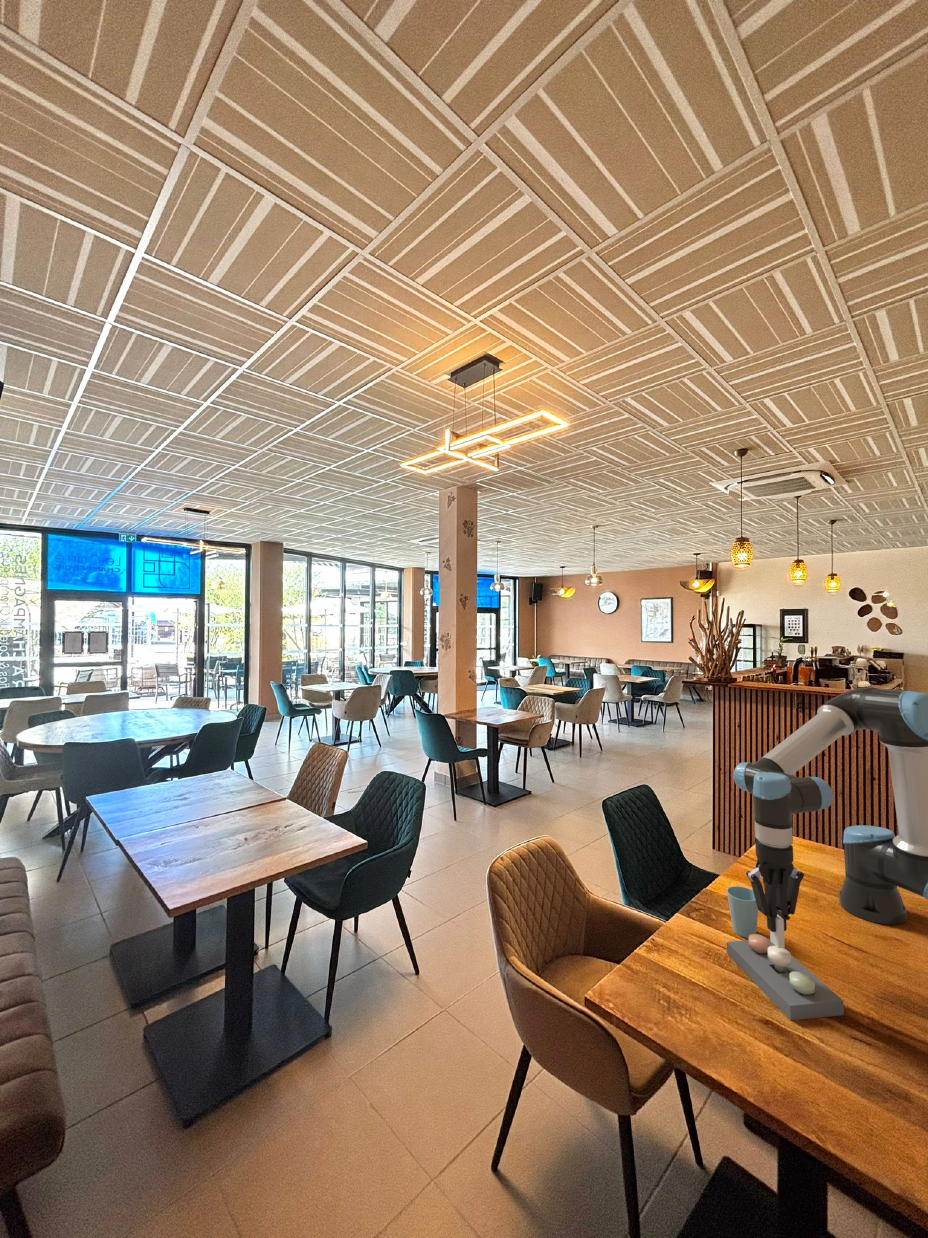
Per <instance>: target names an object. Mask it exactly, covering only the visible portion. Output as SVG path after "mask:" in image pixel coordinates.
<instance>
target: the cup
mask: <svg viewBox="0 0 928 1238" xmlns="http://www.w3.org/2000/svg"><path fill="white" fill-rule="evenodd" d="M726 893H727V894H726V895H727V900H728V906H729V914H730V918H731V925H732V931H733V932H734V933H735V934H736V936H739V937H741V938H746V939H749V935H751V934H757V932H758V931H757V930H758V917H759V910H758V907H757V904H756V900H755V896H754V892H753V889H751V888H748V887H745V886H740V885H739V886H738V885H735V886H733V885H732V886H730V887H728V888H726Z"/></svg>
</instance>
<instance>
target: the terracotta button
mask: <svg viewBox="0 0 928 1238" xmlns="http://www.w3.org/2000/svg"><path fill="white" fill-rule="evenodd" d="M767 938H768V937H766V936H764V935H762V934H759V933H758V934H757V933H756V934H751V935H749V938H748V940H749V947H750V948H751V949H753V950H754V951H755V952H756V953H757V954H764V953H768V947H770V941H769V939H767Z"/></svg>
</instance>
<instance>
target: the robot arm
mask: <svg viewBox="0 0 928 1238" xmlns="http://www.w3.org/2000/svg"><path fill="white" fill-rule="evenodd" d="M859 730H869V731H874V732H878V740H879V742H880V744H882V745H883V746H885V747H886V748H887V752H888V758H889V759H888V760H889V767H890V776H891V783H892V791H893V797H894V799H893V800H894V805H895V806H894V807H895V813H896V821H897V829H898V835H896V834H895V832H894V831H892V830H891V829H888V828H886V827H882V826H881V827H880V826H875V825H863V824H862V825H852V826H851V825H850V826H848V827H846V828H845V829H844V830H843V841H842V843H843V852H844V854H843V855H844V857H843V858H844V870H845V871H844V872H845V874H844V875H845V876H844V877H845V878H844V880H843V882H842V883H843V884H842V886H841V887H842V888H841V890H840V891H839V895H838V901H839V905H840V906H841V907H842V909H844V910H845V911H847V912H848V913H850V914H852V915H853V916H856V917H858V918H860V919H863V920H866V921H870V922H873V923H876V924H877V923H879V924H882V925H901V924H904V923H905V922H907V920H908V912H907V908H906V906H905V904H904V901H903V898H902V896H901V894H900V892H899V890H898V889H899V888H901V889H903V890H905V891H908V892H910V893H913V894H916V895H917V896H920V897H922V898H924V899H925V900H927V901H928V693H926V692H917V691H914V690H903V689H893V688H892V689H891V688H878V687H877V688H876V687H871V686H870V687H869V686H868V687H867V686H866V687H857V688H854V689H851V690H848V691H845V692H842V693H840V694H838V695H837V696H834V697H833V698H830V699H829V700H827V701H826V702H825V703H824V704H822V705H821V706H819V707H818V708H817V711H816V715H814V716H813V717H812V718H811V719H809V720H808V721H807V722H806V723H804V724H803V725H801V726H800V727H799V728H798V729H797V730H796V731H794V732H793V733H791V734H790V735H789V736H788V737H786V738H785V739H784V740H783V741H781V742H780V743H779V744H777V745H776V746H775V747H774V748H772V749H771V750H769V751H768V752H767V753H765V754H764V756H762V757H760V759H758V760H757V761H755V762H754V763H753V762H747V761H746V762H739V763H738V764H737V765H736V767H735V768H734V770H733V781H734V784H735V785H736V786H737V787H738V788H739V789H741V790H742V791H744V792H747V793H749V794H752V795H753V807H754V808H753V811H754V835H755V838H756V839H755V841H754V842H755V844H754V845H755V856H756V862H755V868H754V869H753V870H752V871H750V870H747V871H746V872H745V875H746V876H747V878H748V879H749V881H750V884H751V888H752V889H751V890H753V892H754V896H755V900H756V904H757V907H758V912H760V913H761V914H763V915H764V916H765V917H766V926H767V929H768V930H769V934H770V935H769V936H770V937H769V938H770V941H771V942H772V943H773V944H774V945H775V946H777V947H778V948H784V949H786V948H785V932H786V931H787V926H788V925H787V921H789V920H790V919H791V916H792V915H793V916H794V915H795V913H796V909H797V902H798V896H799V892H800V886H801V882H802V881H803V878H804V877H805V874H804V872H802V871H800V870H799V869H797V868H795V866H794V865H793V862H794V846H793V843H794V837H793V836H794V835H793V817H792V816H793V815H796V814H797V815H798V814H802V813H809V812H818V811H821V810H824V809H827V808H830V806H831V805H832V803H833V801H834V794H833V793H834V792H833V789H832V788H831V786H830V785H829V784H828V782H827V781H826V780H824V779H822V778H820V777H816V776H805V777H800V776H796V775H794V774H796V773H797V772H798V771H799V770H800V769H802V768H804V766H805V765H807V764H808V763H809V762H810V761H812V760H813V759H815V757H817V756H818V755H819V754H820V753H822V752H823V751H824V750H826V748H828V747H829V746H831V744H833V743H834V742H835V741H837V739H840V737H842V736H849V735H851V734H852V733H853V732H855V731H859ZM761 877H762V878H761ZM761 881H762V882H761ZM762 883H763V884H764V885H763V884H762ZM898 887H899V888H898ZM790 915H791V916H790Z"/></svg>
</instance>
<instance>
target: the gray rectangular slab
mask: <svg viewBox="0 0 928 1238" xmlns="http://www.w3.org/2000/svg"><path fill="white" fill-rule="evenodd" d="M766 938H767V939H769V941H770V937H766ZM770 946H775V945H774V944H773V943H772V942H771V941H770ZM726 954H727V956H728V957H729V958H730V959H731V960H732V961H733V962H734V963H735V964H736V965H737V966H738V967H739V968H740V969H741V970H742V971H743V972H744V974H746V976H748V977H749V978H750V980H751V981H753V983H754V984H755V985H756V986H757V987H758V988H759V989H760V990H761V991H762V992H763V993H764V994H765V995H766V997H767V998H768V999H769V1000H770V1001H771V1002H773V1004H774V1005H775V1006H776V1007H777V1008H778V1009H779V1010H780V1011H781V1012H782V1013H783V1015H784V1016H786V1017H787V1019H788V1020H790V1021H799V1020H806V1019H807V1020H809V1019H817V1018H827V1017H837V1016H845V1009H844V1008H845V1007H844V1006H845V1005H844V1000H843V999H842V998H841V997H840V996H839V995H838V994H836V993H835V992H834V991H833V990H832V989H831V988H830V987H828V986H827V985H826V984H825V983H824V982H823V981H822V980H821V979H819V978H818V977H817V976H816V975H815V974H814V973H812V972H811V971H810V970H809V969H808V968H806V967H805V966H804V965H803V964H802V963H801V962H800V961H798V959H796V958H795V957H794V956H793V955H792V954H791V965H790V966H785V972H778V971H777V970H775V964H774V963H772V962H771V961H770V960H769V959H768V953H764V954H757V953H756V952H755V951H754V950H753V949H751V948H750V947H749V939H746V940H745V939H744V940H733V941H726ZM794 971H798V972H802V973H805V974H807V975H809V976H811V977H812V978H813V979H814V981H815V993H813V994H808V995H804V996H801V995H800V994H799V993H798V992H797V991H796V990H795V989H793V988H792V987H791V985H790V976H789V974H790V973H791V972H794Z"/></svg>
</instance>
